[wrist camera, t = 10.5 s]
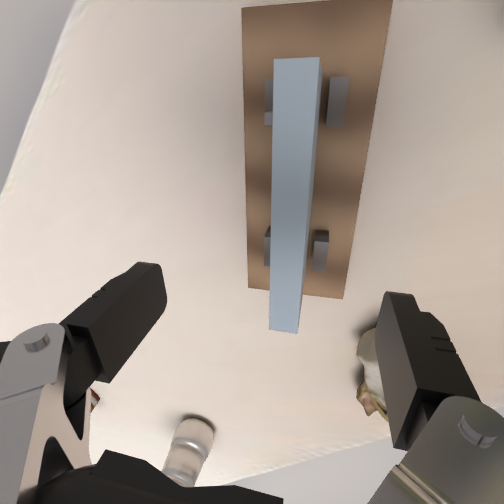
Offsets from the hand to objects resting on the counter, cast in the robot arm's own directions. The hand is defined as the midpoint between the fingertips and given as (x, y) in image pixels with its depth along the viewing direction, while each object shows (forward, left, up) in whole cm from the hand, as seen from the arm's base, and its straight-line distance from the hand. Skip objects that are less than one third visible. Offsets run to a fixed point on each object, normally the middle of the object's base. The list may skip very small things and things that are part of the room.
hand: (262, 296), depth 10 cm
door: (0, 0, -17) cm, 17 cm away
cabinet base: (0, 0, -19) cm, 19 cm away
